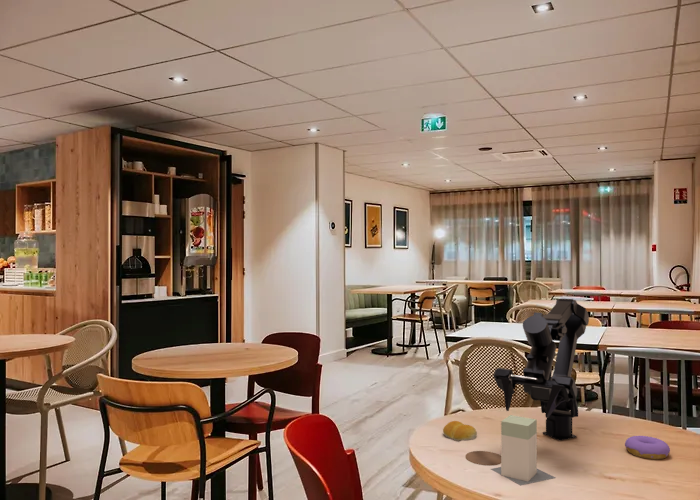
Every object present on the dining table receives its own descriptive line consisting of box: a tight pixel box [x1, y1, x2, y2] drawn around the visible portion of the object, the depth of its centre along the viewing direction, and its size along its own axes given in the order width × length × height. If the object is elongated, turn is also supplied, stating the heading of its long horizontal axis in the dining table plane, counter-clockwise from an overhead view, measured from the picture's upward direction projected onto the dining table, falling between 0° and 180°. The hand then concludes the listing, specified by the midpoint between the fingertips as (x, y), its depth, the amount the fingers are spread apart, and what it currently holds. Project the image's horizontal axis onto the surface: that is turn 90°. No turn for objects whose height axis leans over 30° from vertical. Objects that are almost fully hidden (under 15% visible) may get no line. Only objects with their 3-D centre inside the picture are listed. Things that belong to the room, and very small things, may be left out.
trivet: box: [465, 450, 501, 466], centre depth 134 cm, size 9×9×1 cm
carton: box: [500, 414, 538, 481], centre depth 125 cm, size 6×6×12 cm
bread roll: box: [442, 420, 478, 442], centre depth 152 cm, size 8×9×4 cm
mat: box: [490, 466, 557, 486], centre depth 125 cm, size 10×10×1 cm
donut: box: [624, 435, 671, 460], centre depth 139 cm, size 10×9×5 cm
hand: (526, 413), depth 129 cm, fingers open, 9 cm apart
